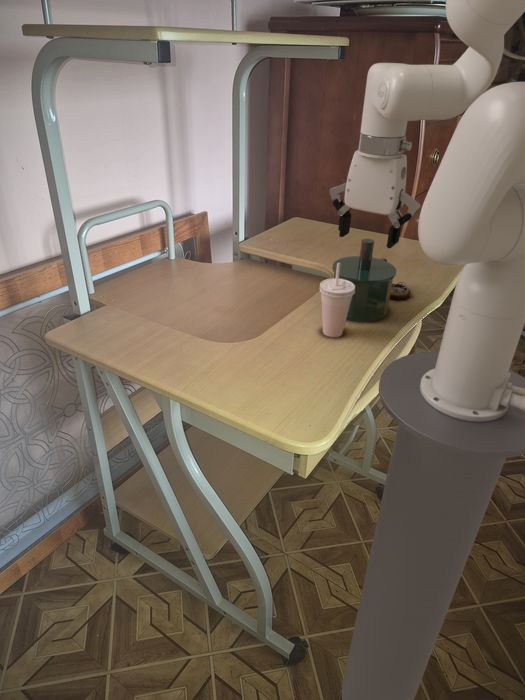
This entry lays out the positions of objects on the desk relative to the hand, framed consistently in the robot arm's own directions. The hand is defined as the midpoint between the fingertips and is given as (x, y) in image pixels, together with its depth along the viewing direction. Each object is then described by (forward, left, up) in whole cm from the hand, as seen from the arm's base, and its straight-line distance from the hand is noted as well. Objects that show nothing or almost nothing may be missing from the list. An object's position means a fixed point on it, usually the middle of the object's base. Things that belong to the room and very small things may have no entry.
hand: (367, 240), depth 95 cm
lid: (0, 0, -6) cm, 6 cm away
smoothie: (0, +12, -15) cm, 19 cm away
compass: (-3, -12, -15) cm, 19 cm away
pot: (0, 0, -14) cm, 14 cm away
